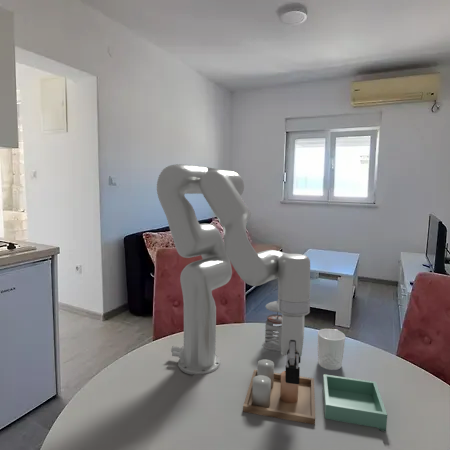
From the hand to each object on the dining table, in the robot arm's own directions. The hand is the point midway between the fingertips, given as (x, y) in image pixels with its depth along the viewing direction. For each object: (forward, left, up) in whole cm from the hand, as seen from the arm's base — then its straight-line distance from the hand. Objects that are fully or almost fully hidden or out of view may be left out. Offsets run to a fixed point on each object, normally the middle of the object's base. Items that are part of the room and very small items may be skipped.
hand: (293, 372), depth 83 cm
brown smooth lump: (-1, 0, -7) cm, 7 cm away
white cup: (+10, +20, -8) cm, 24 cm away
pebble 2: (-7, -4, -7) cm, 11 cm away
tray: (-3, 0, -8) cm, 8 cm away
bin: (+14, +1, -8) cm, 16 cm away
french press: (-6, +28, -8) cm, 30 cm away
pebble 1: (-7, +4, -7) cm, 11 cm away
